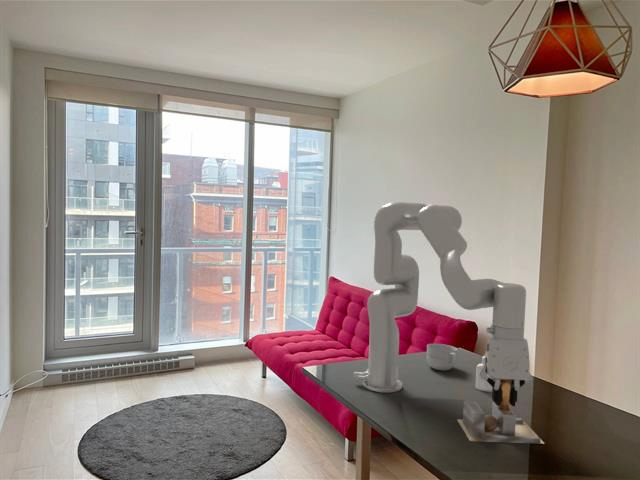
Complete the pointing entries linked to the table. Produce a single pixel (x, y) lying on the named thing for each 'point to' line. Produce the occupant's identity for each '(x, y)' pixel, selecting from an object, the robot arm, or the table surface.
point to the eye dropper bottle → (480, 382)
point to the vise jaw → (505, 410)
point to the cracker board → (476, 432)
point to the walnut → (490, 423)
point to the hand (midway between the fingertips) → (504, 403)
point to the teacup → (441, 356)
